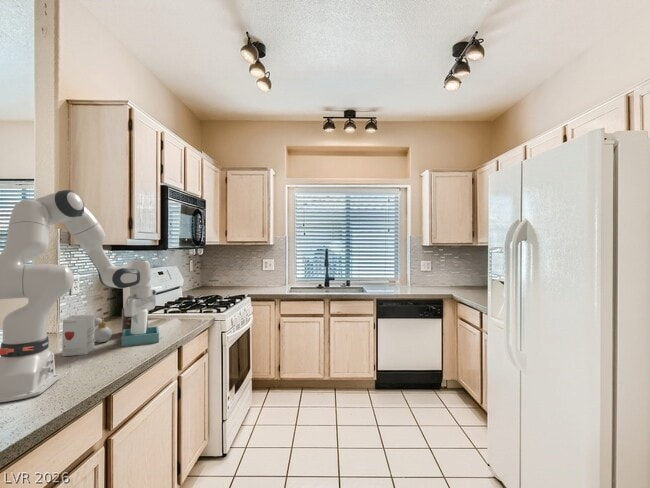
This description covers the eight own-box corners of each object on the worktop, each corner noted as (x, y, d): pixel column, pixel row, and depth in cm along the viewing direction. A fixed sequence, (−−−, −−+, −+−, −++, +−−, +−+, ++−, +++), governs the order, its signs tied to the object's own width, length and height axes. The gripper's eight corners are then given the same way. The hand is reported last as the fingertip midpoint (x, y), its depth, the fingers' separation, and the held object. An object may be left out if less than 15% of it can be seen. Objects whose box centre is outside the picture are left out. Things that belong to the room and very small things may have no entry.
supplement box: (61, 356, 141) (61, 319, 141) (71, 350, 150) (71, 315, 150) (86, 354, 144) (87, 318, 144) (95, 348, 152) (95, 314, 152)
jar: (146, 334, 177) (146, 304, 177) (120, 336, 172) (120, 306, 172) (148, 328, 188) (148, 300, 188) (123, 330, 183) (124, 302, 183)
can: (139, 335, 160) (141, 309, 161) (127, 334, 162) (129, 308, 163) (149, 333, 167) (151, 307, 168) (137, 332, 168) (139, 306, 169)
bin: (158, 342, 162) (158, 333, 162) (121, 346, 155) (121, 337, 155) (158, 334, 175) (158, 326, 175) (123, 338, 169) (123, 329, 169)
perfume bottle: (112, 338, 168) (112, 314, 168) (110, 344, 159) (110, 317, 159) (94, 340, 164) (94, 315, 164) (90, 346, 156) (90, 319, 156)
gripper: (133, 296, 155) (133, 327, 155) (158, 290, 175) (158, 317, 175) (120, 296, 155) (120, 327, 155) (146, 290, 176) (145, 317, 176)
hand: (140, 322), depth 165 cm, fingers closed on can, 5 cm apart
